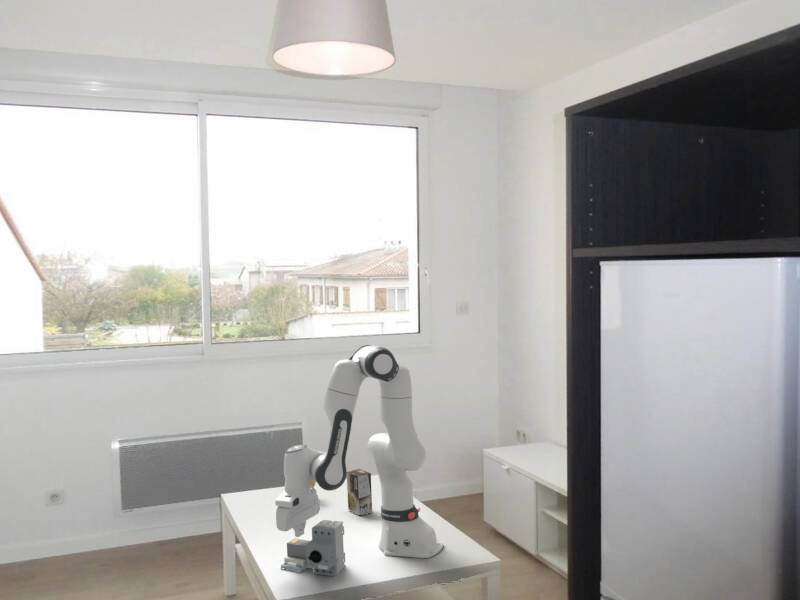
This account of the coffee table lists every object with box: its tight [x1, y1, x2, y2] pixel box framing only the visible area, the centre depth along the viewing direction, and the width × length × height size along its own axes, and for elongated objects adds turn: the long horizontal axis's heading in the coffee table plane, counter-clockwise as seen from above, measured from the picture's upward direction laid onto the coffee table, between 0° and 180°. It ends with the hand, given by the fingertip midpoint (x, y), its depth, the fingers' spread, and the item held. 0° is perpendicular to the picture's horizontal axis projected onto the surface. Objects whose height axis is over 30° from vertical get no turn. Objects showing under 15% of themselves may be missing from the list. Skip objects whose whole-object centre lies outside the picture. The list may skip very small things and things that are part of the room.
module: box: [286, 537, 311, 564], centre depth 245 cm, size 8×4×6 cm, turn 63°
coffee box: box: [346, 468, 373, 516], centre depth 295 cm, size 9×6×16 cm
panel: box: [280, 555, 308, 573], centre depth 246 cm, size 8×14×3 cm, turn 153°
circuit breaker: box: [306, 519, 346, 577], centre depth 236 cm, size 8×14×15 cm, turn 159°
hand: (299, 535), depth 245 cm, fingers closed
